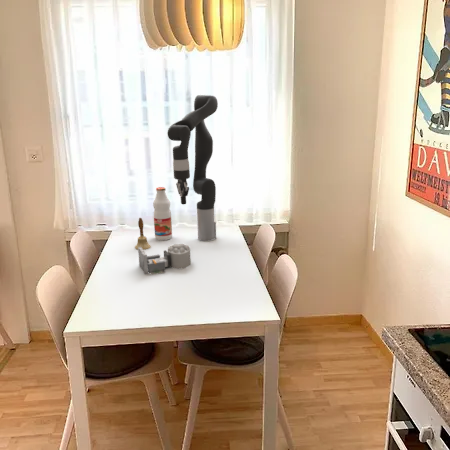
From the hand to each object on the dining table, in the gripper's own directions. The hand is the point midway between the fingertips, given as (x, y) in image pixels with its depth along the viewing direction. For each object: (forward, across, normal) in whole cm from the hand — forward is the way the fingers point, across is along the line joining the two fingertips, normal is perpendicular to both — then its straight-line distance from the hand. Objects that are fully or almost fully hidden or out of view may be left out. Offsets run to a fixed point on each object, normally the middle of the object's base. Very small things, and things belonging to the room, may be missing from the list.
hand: (183, 203), depth 239 cm
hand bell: (+26, +20, +17) cm, 37 cm away
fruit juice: (+26, +30, +3) cm, 40 cm away
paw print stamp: (+26, -11, +7) cm, 29 cm away
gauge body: (+25, -12, +21) cm, 35 cm away
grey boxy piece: (+25, -14, +18) cm, 33 cm away
